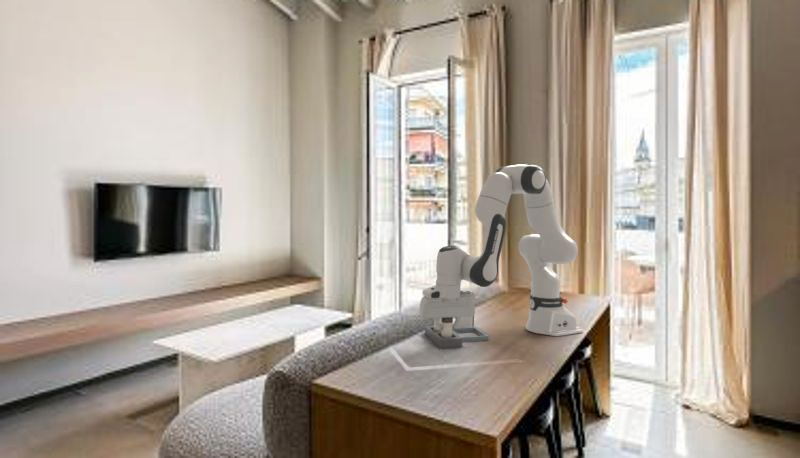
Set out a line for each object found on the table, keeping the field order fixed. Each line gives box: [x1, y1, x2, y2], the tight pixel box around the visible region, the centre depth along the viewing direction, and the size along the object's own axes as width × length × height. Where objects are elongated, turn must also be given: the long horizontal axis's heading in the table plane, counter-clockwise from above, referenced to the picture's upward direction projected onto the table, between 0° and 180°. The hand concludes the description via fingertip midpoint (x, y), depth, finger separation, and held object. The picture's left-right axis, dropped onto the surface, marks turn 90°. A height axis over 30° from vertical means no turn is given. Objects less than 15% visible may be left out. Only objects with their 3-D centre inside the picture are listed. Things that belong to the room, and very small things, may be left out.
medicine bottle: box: [457, 314, 475, 328], centre depth 199 cm, size 7×7×12 cm
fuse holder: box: [420, 325, 467, 350], centre depth 179 cm, size 20×10×4 cm, turn 15°
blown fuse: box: [441, 317, 454, 338], centre depth 175 cm, size 4×4×10 cm
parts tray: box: [452, 326, 489, 343], centre depth 185 cm, size 11×12×2 cm
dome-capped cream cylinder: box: [433, 318, 442, 331], centre depth 183 cm, size 4×4×10 cm
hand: (446, 329), depth 175 cm, fingers open, 4 cm apart
